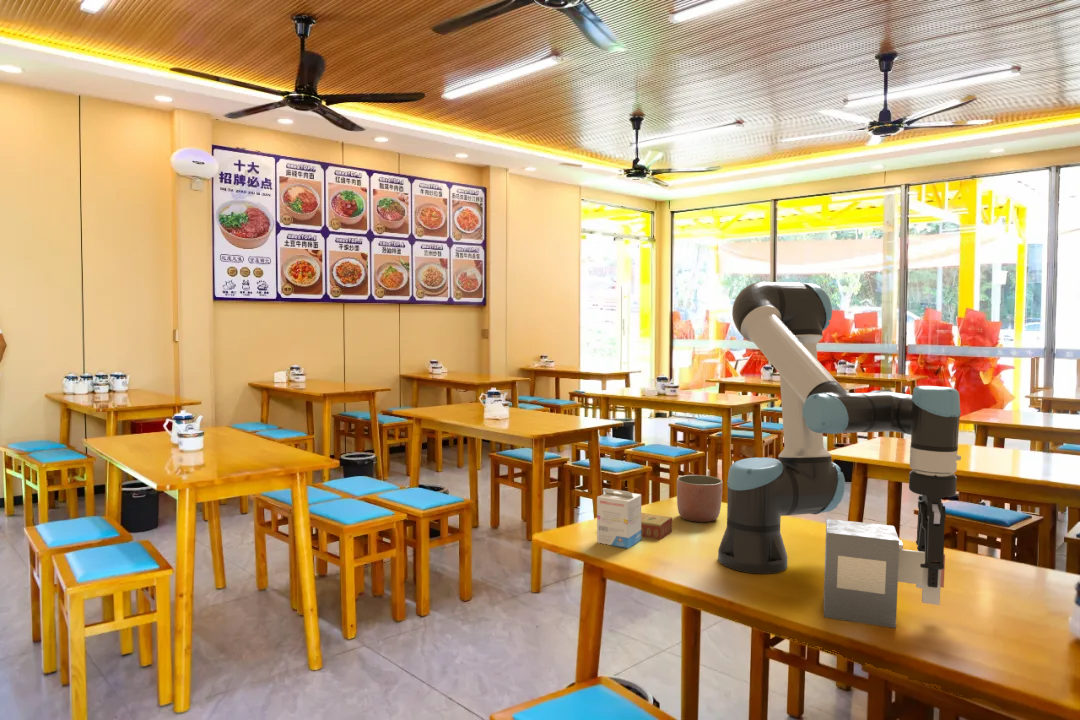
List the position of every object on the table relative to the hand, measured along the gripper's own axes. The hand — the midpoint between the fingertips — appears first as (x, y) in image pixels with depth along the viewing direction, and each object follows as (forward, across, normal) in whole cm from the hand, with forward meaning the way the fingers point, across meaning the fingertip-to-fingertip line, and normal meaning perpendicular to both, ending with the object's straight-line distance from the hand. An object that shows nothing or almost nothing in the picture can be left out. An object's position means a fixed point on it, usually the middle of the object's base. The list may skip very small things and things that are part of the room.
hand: (927, 595), depth 130 cm
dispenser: (+5, 0, +12) cm, 13 cm away
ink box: (+5, +24, +64) cm, 69 cm away
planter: (+5, +53, +50) cm, 73 cm away
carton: (+6, +35, +62) cm, 72 cm away
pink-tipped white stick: (-2, 0, +7) cm, 7 cm away
